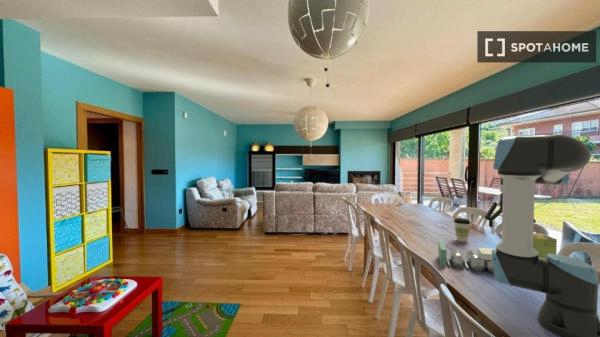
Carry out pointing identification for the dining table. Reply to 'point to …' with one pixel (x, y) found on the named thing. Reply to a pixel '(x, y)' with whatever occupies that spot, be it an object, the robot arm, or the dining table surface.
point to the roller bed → (479, 262)
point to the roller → (457, 258)
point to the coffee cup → (462, 229)
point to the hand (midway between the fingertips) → (508, 234)
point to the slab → (485, 253)
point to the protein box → (544, 245)
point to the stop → (442, 254)
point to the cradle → (449, 263)
